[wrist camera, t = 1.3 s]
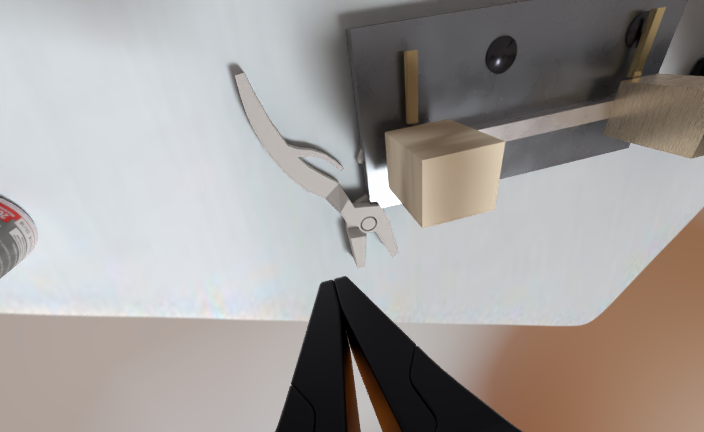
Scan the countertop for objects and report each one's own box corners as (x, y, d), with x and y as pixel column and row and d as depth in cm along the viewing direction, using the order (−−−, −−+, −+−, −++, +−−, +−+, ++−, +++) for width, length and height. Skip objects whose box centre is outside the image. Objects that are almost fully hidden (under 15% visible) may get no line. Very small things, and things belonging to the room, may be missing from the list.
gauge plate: (678, -23, 18) (879, -58, 12) (616, 144, 24) (731, 176, 18) (346, 29, 15) (393, 17, 9) (367, 204, 21) (404, 266, 15)
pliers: (411, 23, 15) (435, 240, 23) (399, 25, 16) (425, 230, 24) (228, 78, 14) (320, 284, 22) (231, 76, 15) (316, 271, 23)
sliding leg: (443, 44, 16) (520, 43, 11) (439, 169, 19) (494, 209, 15) (373, 56, 15) (421, 60, 10) (384, 182, 19) (422, 228, 14)
